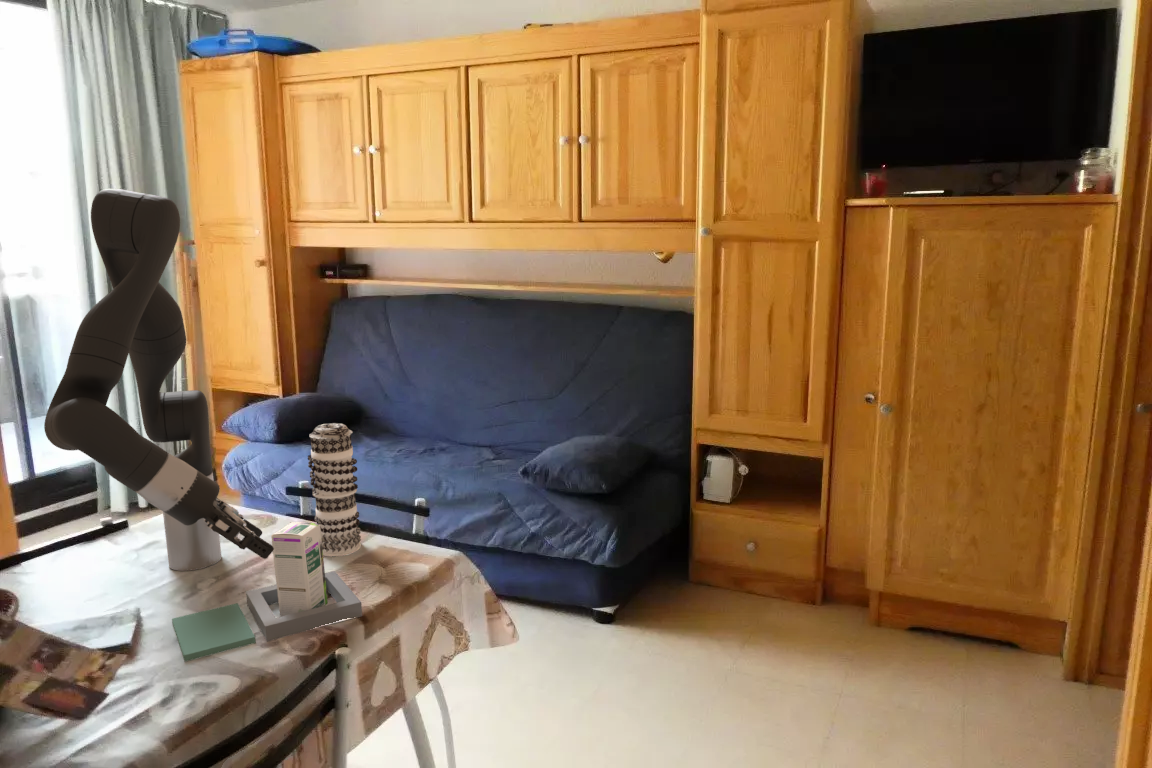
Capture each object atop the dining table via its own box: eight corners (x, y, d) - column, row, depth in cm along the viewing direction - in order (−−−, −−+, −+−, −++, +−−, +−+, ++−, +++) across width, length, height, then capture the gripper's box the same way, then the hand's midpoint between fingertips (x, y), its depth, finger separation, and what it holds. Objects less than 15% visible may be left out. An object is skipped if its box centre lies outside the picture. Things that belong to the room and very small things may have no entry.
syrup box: (311, 620, 134) (304, 535, 131) (278, 617, 135) (270, 533, 132) (328, 604, 139) (322, 522, 136) (296, 601, 140) (289, 520, 138)
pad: (172, 624, 133) (171, 618, 133) (238, 608, 138) (237, 603, 138) (184, 661, 121) (183, 655, 121) (255, 642, 127) (255, 636, 126)
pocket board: (247, 605, 139) (245, 591, 139) (335, 583, 147) (334, 570, 147) (266, 641, 127) (265, 626, 126) (362, 616, 135) (361, 601, 134)
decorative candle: (305, 549, 163) (295, 427, 159) (345, 536, 170) (337, 418, 166) (331, 561, 157) (322, 434, 153) (372, 546, 164) (364, 424, 160)
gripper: (202, 480, 119) (290, 539, 127) (188, 458, 131) (270, 513, 139) (165, 522, 117) (257, 579, 125) (155, 496, 129) (239, 550, 137)
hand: (264, 544), depth 132 cm, fingers open, 8 cm apart
